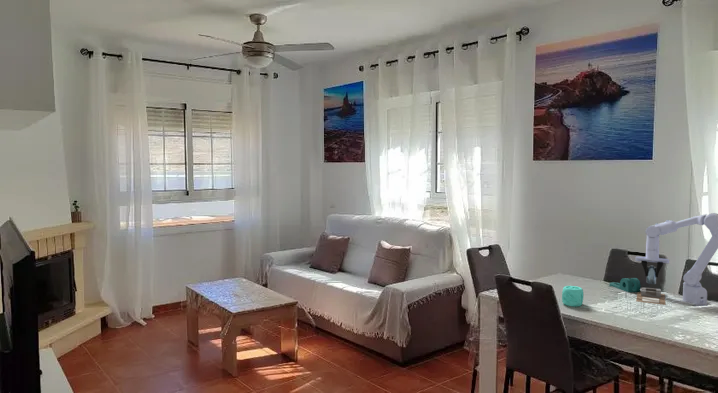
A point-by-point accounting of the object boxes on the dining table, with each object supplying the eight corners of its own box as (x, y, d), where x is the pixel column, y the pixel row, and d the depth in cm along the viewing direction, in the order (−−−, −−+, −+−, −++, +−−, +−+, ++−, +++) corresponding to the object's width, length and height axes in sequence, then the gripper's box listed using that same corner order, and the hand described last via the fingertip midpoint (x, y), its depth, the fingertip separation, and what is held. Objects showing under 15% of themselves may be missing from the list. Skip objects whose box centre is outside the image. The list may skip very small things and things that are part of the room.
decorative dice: (579, 307, 237) (580, 290, 236) (561, 304, 241) (562, 288, 241) (583, 303, 243) (583, 287, 243) (565, 301, 248) (566, 284, 247)
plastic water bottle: (657, 283, 252) (658, 266, 252) (651, 284, 252) (651, 266, 251) (651, 282, 256) (652, 264, 256) (644, 282, 255) (645, 265, 255)
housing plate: (637, 293, 262) (637, 286, 262) (664, 296, 256) (664, 289, 256) (636, 303, 243) (636, 296, 243) (665, 306, 237) (665, 299, 237)
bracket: (640, 294, 261) (640, 279, 260) (627, 295, 260) (628, 279, 259) (618, 286, 278) (618, 272, 278) (606, 286, 278) (607, 272, 277)
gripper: (669, 249, 253) (668, 276, 254) (636, 247, 260) (635, 273, 261) (669, 251, 247) (668, 279, 247) (635, 249, 254) (634, 276, 255)
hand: (651, 276), depth 254 cm, fingers closed on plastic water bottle, 4 cm apart
